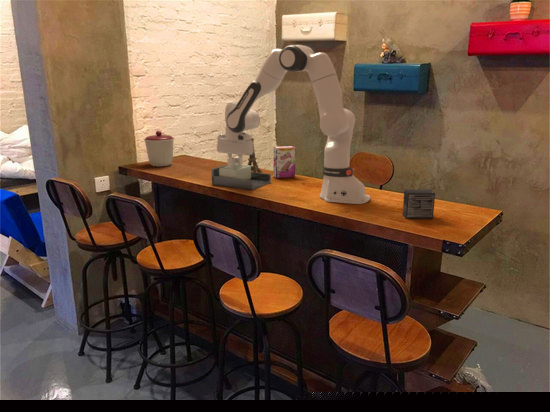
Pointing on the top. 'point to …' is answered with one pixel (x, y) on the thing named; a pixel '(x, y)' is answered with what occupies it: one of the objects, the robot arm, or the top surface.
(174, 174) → the top surface
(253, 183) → the bay
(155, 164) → the canister
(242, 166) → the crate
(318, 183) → the top surface
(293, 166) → the candy bar box
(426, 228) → the top surface
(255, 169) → the eiffel tower
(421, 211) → the small box
